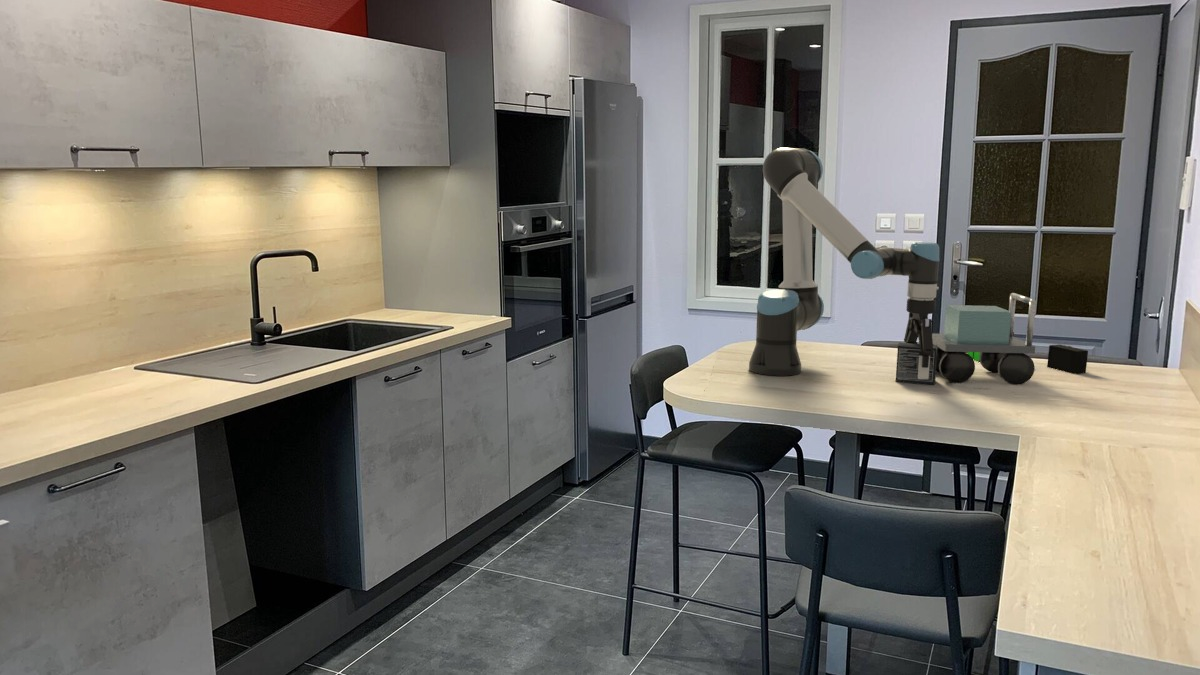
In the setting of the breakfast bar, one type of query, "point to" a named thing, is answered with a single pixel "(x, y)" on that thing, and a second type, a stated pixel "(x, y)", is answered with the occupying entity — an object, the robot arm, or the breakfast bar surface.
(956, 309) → the trolley
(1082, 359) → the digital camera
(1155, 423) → the breakfast bar surface
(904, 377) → the small box
